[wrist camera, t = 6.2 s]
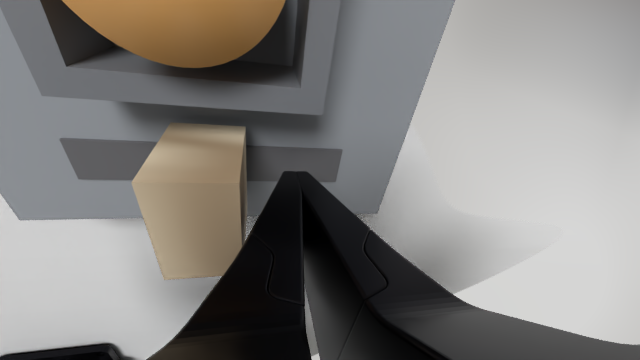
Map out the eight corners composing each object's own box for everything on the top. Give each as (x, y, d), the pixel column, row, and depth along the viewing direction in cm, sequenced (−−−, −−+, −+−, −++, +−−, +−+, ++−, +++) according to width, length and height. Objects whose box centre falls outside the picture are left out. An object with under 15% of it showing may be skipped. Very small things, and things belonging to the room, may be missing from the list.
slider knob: (187, 208, 9) (164, 280, 7) (170, 122, 7) (130, 182, 5) (247, 207, 10) (243, 274, 7) (245, 126, 8) (238, 183, 6)
